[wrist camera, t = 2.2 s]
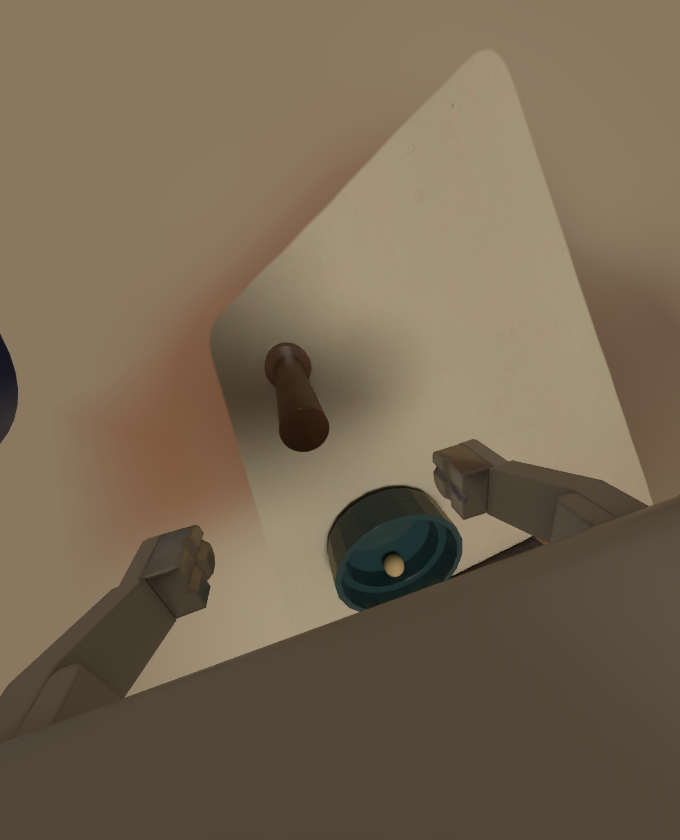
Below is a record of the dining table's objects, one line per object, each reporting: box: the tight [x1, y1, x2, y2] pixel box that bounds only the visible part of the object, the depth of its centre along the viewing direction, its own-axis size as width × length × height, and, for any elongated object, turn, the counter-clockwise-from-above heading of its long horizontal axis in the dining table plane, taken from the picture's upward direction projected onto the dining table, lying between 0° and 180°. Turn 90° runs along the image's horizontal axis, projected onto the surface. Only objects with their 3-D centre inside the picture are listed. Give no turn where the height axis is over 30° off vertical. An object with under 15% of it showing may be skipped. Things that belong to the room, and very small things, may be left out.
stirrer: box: [265, 342, 329, 452], centre depth 22 cm, size 4×4×16 cm
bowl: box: [327, 488, 462, 612], centre depth 39 cm, size 18×18×6 cm
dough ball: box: [384, 554, 404, 577], centre depth 42 cm, size 3×3×3 cm
